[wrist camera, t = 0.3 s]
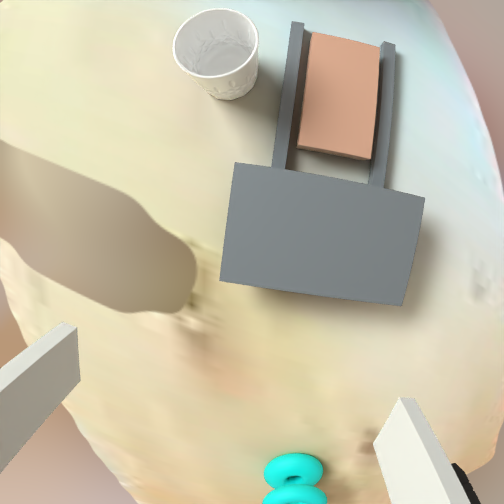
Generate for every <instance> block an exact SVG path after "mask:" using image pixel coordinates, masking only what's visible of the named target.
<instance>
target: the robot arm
mask: <svg viewBox="0 0 504 504" xmlns="http://www.w3.org/2000/svg"><path fill="white" fill-rule="evenodd" d="M80 381H81V380H80V368H79V354H78V335H77V327H75V326H72V325H70V324H67V323H65V322H61V323H60V324H59V325H57V326H56V327H55V328H53V329H52V330H51V331H49V332H48V333H46V334H45V335H44V336H42V337H41V338H40V339H38V340H37V341H36V342H34V343H33V344H32V345H30V346H29V347H28V348H26V349H25V350H24V351H22V352H21V353H20V354H19V355H17V356H16V357H15V358H13V359H12V360H11V361H9V362H8V363H7V364H6V365H4V366H3V367H2V368H0V473H1V472H2V471H3V470H4V468H5V467H6V466H7V465H8V463H9V462H10V461H11V460H12V459H13V458H14V456H15V455H16V454H17V453H18V452H19V450H20V449H21V448H22V447H23V446H24V445H25V443H26V442H27V441H28V440H29V439H30V437H31V436H32V435H33V434H34V433H35V432H36V430H37V429H38V428H39V427H40V426H41V425H42V423H43V422H44V421H45V420H46V419H47V418H48V417H49V415H50V414H51V413H52V412H53V411H54V410H55V409H56V407H57V406H58V405H59V404H60V403H61V402H62V401H63V400H64V398H65V397H66V396H67V395H68V394H69V393H70V392H71V391H72V390H73V388H74V387H75V386H76V385H77V384H78V383H79V382H80ZM373 446H374V449H375V452H376V455H377V458H378V461H379V464H380V467H381V471H382V474H383V477H384V480H385V483H386V487H387V490H388V493H389V497H390V500H391V503H392V504H481V503H480V501H479V499H478V497H477V495H476V493H475V492H474V491H473V487H472V486H471V484H470V483H469V480H468V478H467V476H466V474H465V472H464V471H463V470H462V469H461V468H460V467H459V466H458V465H457V464H456V463H453V464H451V463H450V462H449V460H448V458H447V456H446V454H445V452H444V450H443V448H442V447H441V445H440V443H439V441H438V439H437V437H436V436H435V434H434V432H433V430H432V428H431V426H430V425H429V423H428V421H427V419H426V418H425V416H424V414H423V412H422V411H421V409H420V407H419V405H418V404H417V402H416V400H415V398H401V397H399V399H398V401H397V403H396V405H395V406H394V408H393V410H392V412H391V414H390V416H389V417H388V419H387V421H386V423H385V424H384V426H383V428H382V429H381V431H380V433H379V435H378V436H377V438H376V439H375V441H374V443H373Z"/></svg>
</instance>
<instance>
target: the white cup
mask: <svg viewBox="0 0 504 504" xmlns="http://www.w3.org/2000/svg"><path fill="white" fill-rule="evenodd" d="M173 54H174V58H175V60H176V62H177V63H178V65H179V66H180V67H181V68H182V69H183V70H184V71H185V72H186V73H187V74H188V75H189V76H190V77H191V78H192V79H193V80H194V81H195V82H196V83H197V84H198V85H199V86H200V87H201V88H203V89H204V90H205V91H206V92H207V93H208V94H210V95H212V96H214V97H216V98H218V99H223V100H233V99H236V98H239V97H242V96H244V95H245V94H246V93H247V92H249V91H250V90H251V89H252V88H253V86H254V84H255V81H256V79H257V71H258V62H259V35H258V31H257V28H256V26H255V25H254V23H253V22H252V21H251V20H250V19H249V18H248V17H247V16H246V15H244V14H243V13H241V12H238V11H236V10H232V9H227V8H215V9H209V10H205V11H202V12H200V13H198V14H196V15H194V16H192V17H191V18H189V19H188V20H187V21H186V22H185V23H184V24H183V25H182V26H181V27H180V28H179V30H178V31H177V33H176V35H175V38H174V42H173Z"/></svg>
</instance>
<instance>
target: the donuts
mask: <svg viewBox="0 0 504 504" xmlns="http://www.w3.org/2000/svg"><path fill="white" fill-rule="evenodd" d="M322 474H323V467H322V464H321V463H320V461H319V460H317V459H316V458H315V457H313V456H310V455H307V454H301V453H291V454H285V455H282V456H279V457H277V458H275V459H273V460H272V461H270V462H269V463H268V464H267V466H266V468H265V470H264V478H265V480H266V482H267V483H268V484H269V485H270V486H271V487H273V488H275V489H274V490H272V491H271V492H270V493H268V494H267V495H266V496H265V498H264V500H263V502H262V504H327V497H326V495H325V493H324V492H323V491H322V490H320V489H319V488H317V487H314V485H315V484H316V483H317V482H318V481H319V480H320V479H321V477H322ZM290 476H295V477H290Z"/></svg>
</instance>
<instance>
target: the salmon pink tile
mask: <svg viewBox="0 0 504 504" xmlns="http://www.w3.org/2000/svg"><path fill="white" fill-rule="evenodd" d="M379 56H380V47H376V46H372V45H369V44H365V43H361V42H357V41H353V40H349V39H344V38H340V37H335V36H331V35H325V34H320V33H315V32H313V33H312V36H311V40H310V46H309V55H308V63H307V71H306V79H305V87H304V95H303V103H302V111H301V118H300V125H299V133H298V140H297V147H296V148H299V149H305V150H311V151H317V152H322V153H327V154H333V155H338V156H343V157H348V158H352V159H357V160H362V161H364V160H368V159H371V152H372V144H373V135H374V126H375V115H376V104H377V91H378V76H379Z"/></svg>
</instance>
